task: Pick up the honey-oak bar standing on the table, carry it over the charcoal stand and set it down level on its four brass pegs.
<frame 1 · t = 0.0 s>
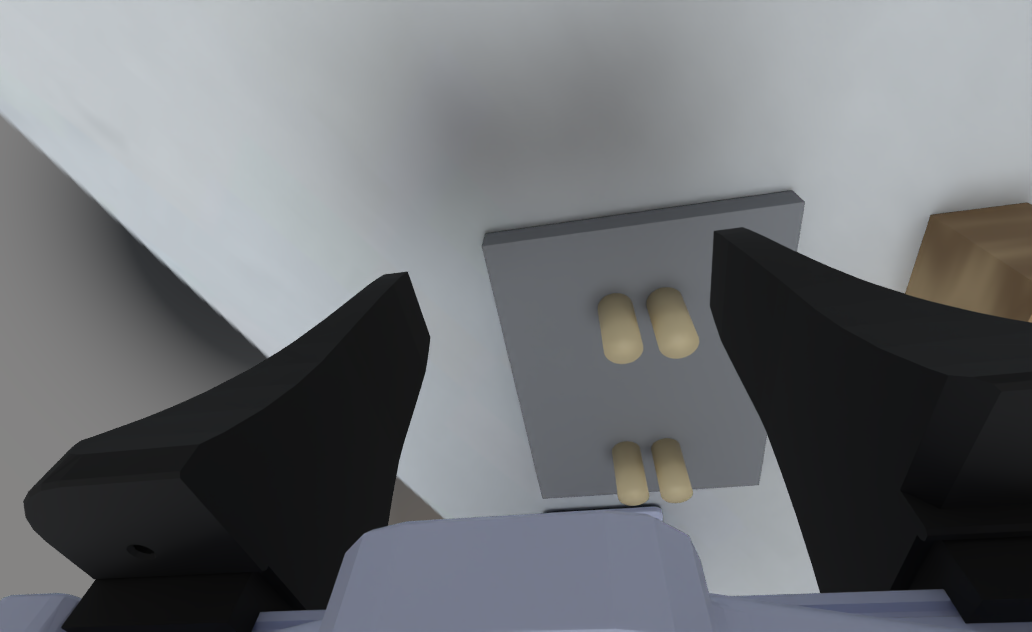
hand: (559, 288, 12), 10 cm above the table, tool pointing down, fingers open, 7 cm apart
peg stand: (639, 369, 26), on the table
oak bar: (926, 338, 25), on the table
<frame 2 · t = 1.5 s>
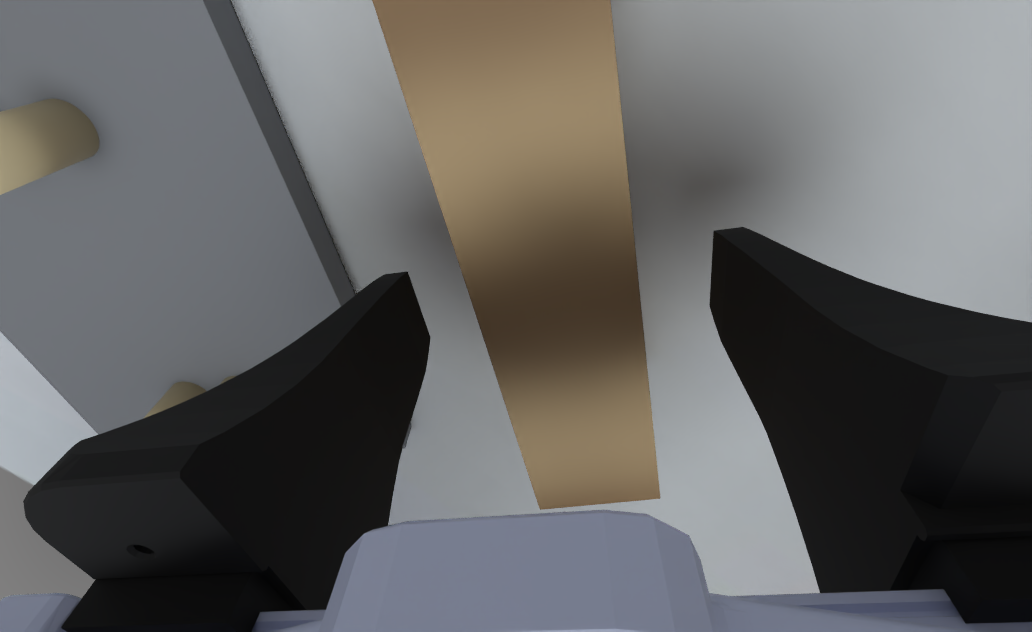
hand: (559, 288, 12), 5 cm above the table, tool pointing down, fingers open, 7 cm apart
peg stand: (163, 268, 18), on the table
oak bar: (554, 209, 16), on the table
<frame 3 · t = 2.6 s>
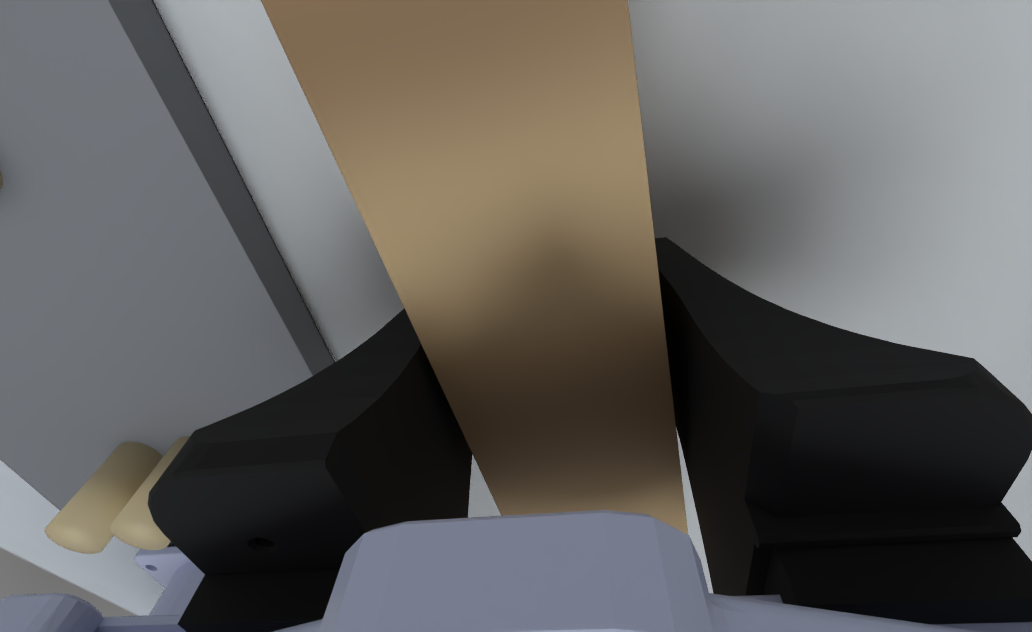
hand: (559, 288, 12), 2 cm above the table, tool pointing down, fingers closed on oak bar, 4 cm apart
peg stand: (101, 316, 15), on the table
oak bar: (558, 253, 13), on the table, touching gripper
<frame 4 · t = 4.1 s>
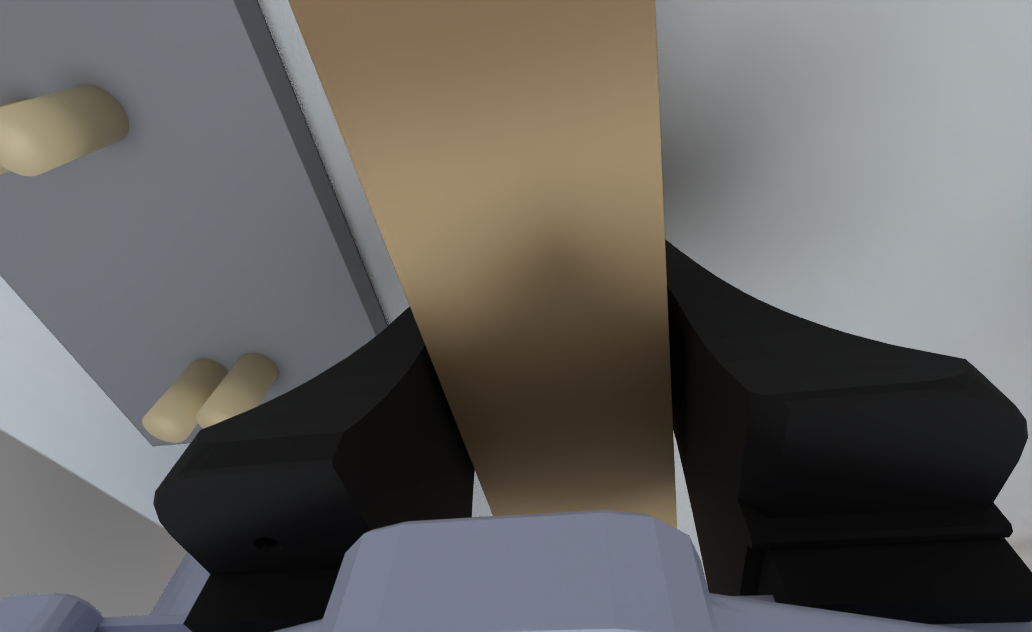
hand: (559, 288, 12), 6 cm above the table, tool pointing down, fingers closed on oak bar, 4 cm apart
peg stand: (184, 249, 19), on the table
oak bar: (558, 253, 13), point 4 cm above the table, touching gripper
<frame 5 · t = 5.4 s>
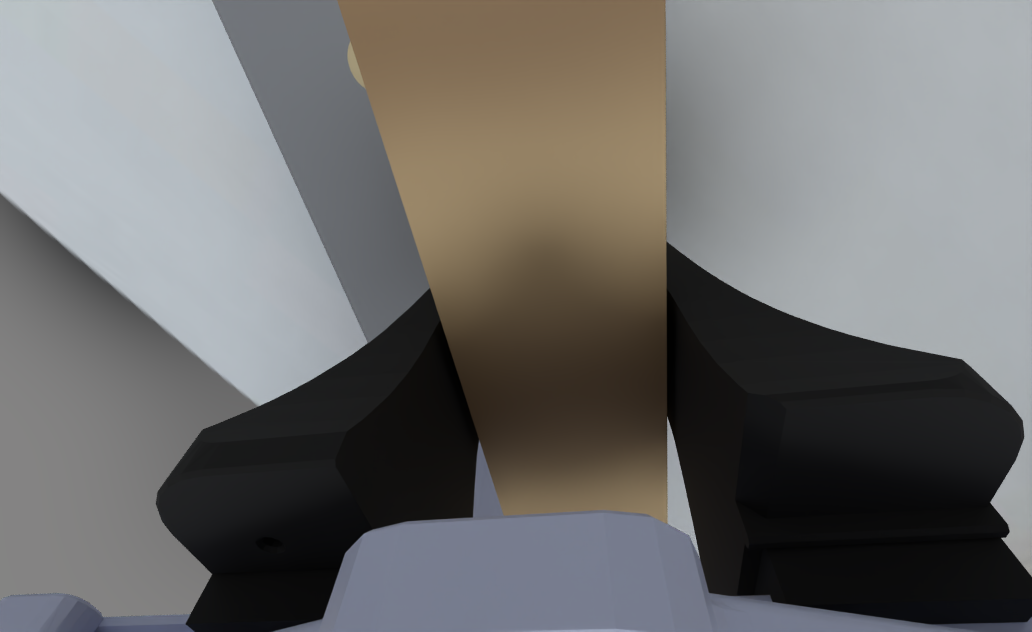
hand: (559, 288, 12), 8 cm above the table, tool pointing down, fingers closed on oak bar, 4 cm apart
peg stand: (479, 180, 19), on the table
oak bar: (558, 250, 14), point 6 cm above the table, touching gripper
when the fingers open (7 cm above the table, at t = 6.8 s): oak bar stays where it is, resting on peg stand.
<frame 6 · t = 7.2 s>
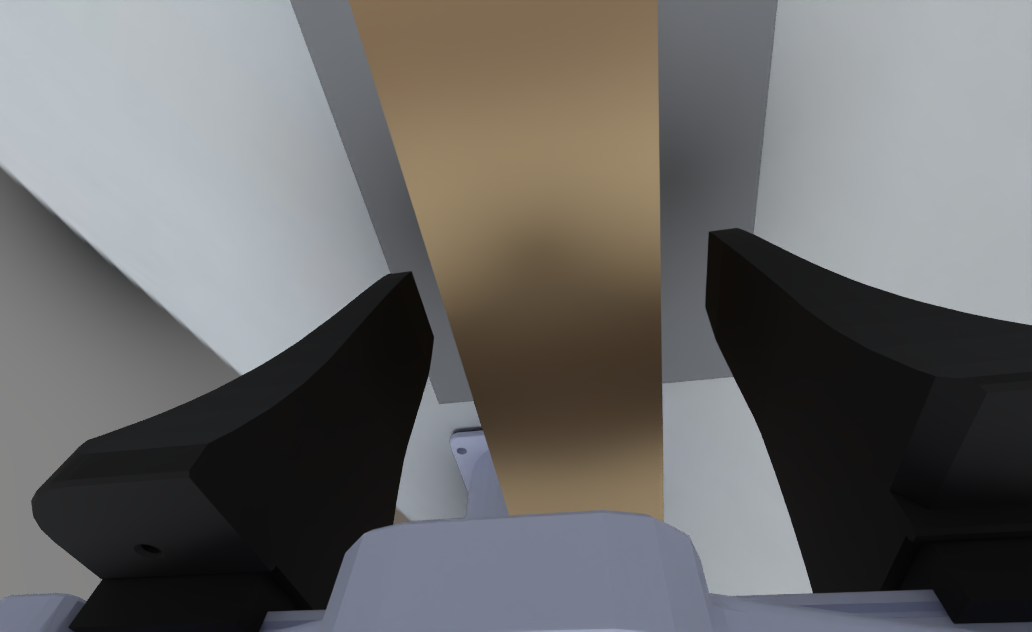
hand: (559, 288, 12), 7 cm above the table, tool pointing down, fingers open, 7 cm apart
peg stand: (555, 183, 18), on the table
oak bar: (558, 245, 14), point 4 cm above the table, touching peg stand
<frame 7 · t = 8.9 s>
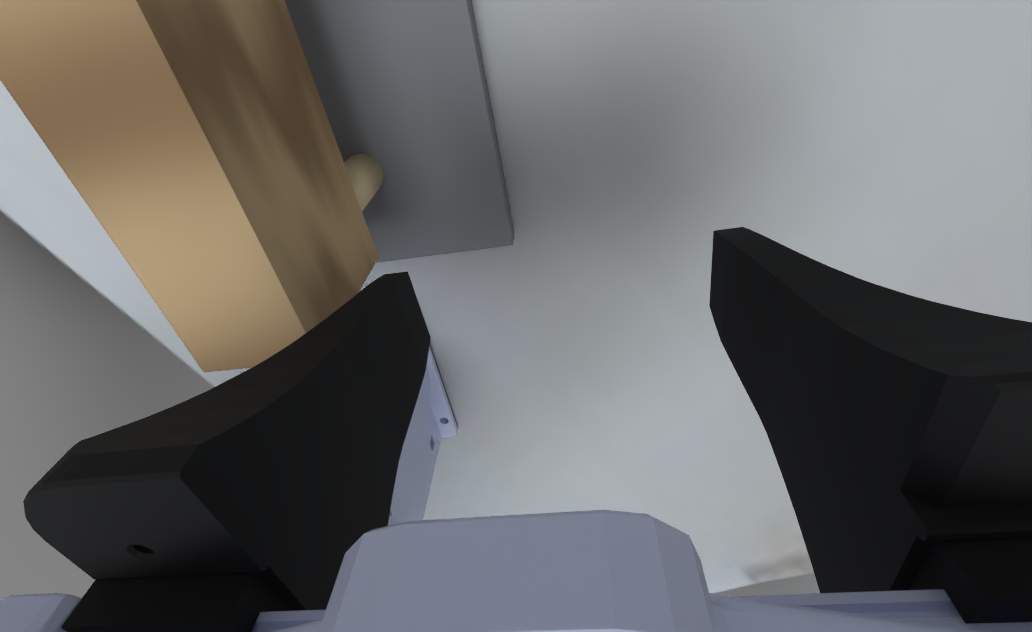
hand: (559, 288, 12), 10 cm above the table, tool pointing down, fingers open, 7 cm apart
peg stand: (299, 35, 18), on the table
oak bar: (248, 62, 15), point 4 cm above the table, touching peg stand
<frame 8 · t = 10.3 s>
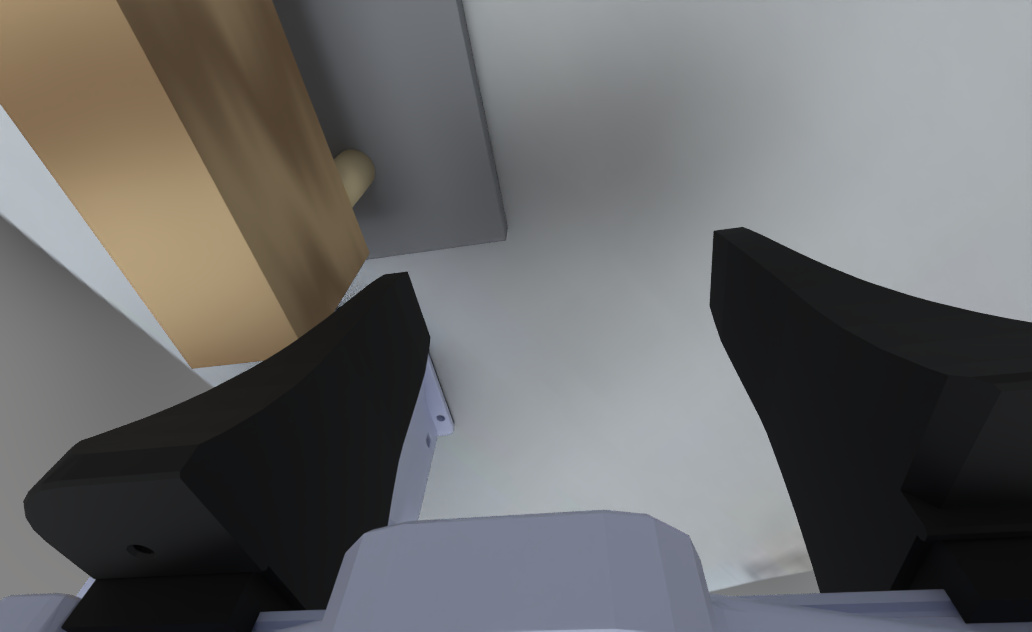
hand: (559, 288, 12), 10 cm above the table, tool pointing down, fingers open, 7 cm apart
peg stand: (288, 30, 18), on the table
oak bar: (234, 57, 15), point 4 cm above the table, touching peg stand
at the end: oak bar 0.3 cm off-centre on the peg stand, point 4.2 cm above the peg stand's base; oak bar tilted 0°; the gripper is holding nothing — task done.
